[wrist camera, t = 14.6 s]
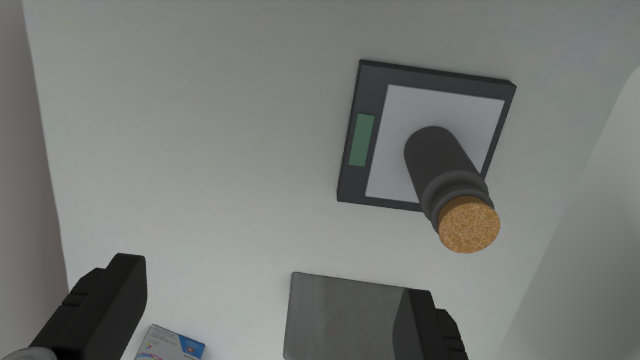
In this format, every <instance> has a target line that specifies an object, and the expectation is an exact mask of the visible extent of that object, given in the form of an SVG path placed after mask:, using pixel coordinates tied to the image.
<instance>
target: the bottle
mask: <svg viewBox="0 0 640 360" xmlns="http://www.w3.org/2000/svg"><path fill="white" fill-rule="evenodd" d="M404 159H405V163H406V166H407V169H408V172H409V175H410V178H411V181H412V183H413V186H414V189H415V192H416V195H417V197H418V200H419V203H420V206H421V208H422V211H423V213H424V214H425V216H426V217H427V218H428V219H429V220H430V221H431V223H432V226H433V228H434V230H435V231H436V232H437V234H439V238H440V240H441V242H442V243H443V244H444V246H446V247H447V248H448V249H450V250H452V251H454V252H458V253H473V252H477V251H479V250H482V249H484V248H485V247H487V246H488V245H490V244H491V243H492V242H493V241H494V240H495V238H496V237H497V235H498V233H499V229H500V220H499V217H498V215H497V213H496V212H495V210H494V205H493V202H492V201H491V199H490V197H489V192H488V188H487V185H486V183H485V181H484V180H483V178H482V177H481V175H480V173H479V172H478V170H477V169H476V167H475V166H474V164H473V163H472V161H471V160H470V158H469V157H468V155H467V154H466V152H465V151H464V149H463V148H462V146H461V145H460V143H459V142H458V140H457V139H456V138H455V136H454V135H453V134H452V133H451V132H450V131H448V130H447V129H445V128H442V127H438V126H429V127H425V128H422V129H420V130H418V131H416V132H415V133H414V134H412V135H411V137H410V138H409V139H408V140H407V142H406V144H405V148H404Z"/></svg>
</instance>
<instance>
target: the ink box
mask: <svg viewBox="0 0 640 360" xmlns="http://www.w3.org/2000/svg"><path fill="white" fill-rule="evenodd" d="M204 346H205V345H203V344H201V343H198V342H196V341H193V340H191V339H188V338H186V337H183V336H181V335H178V334H176V333H173V332H170V331H168V330H165V329H163V328H160V327H158V326H156V325H152V326H151V327H150V329H149V331H148V333H147V335H146V336H145V338H144V340H143V342H142V344H141V346H140V348H139V350H138V352H137V354H136V356H135V358H134V360H200V359H201V356H202V353H203V350H204Z"/></svg>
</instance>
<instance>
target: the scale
mask: <svg viewBox="0 0 640 360" xmlns="http://www.w3.org/2000/svg"><path fill="white" fill-rule="evenodd" d="M516 88H517V86H516V85H514V84H513V83H512V82H510V81H508V80H501V79H494V78H487V77H480V76H473V75H466V74H459V73H452V72H445V71H438V70H431V69H424V68H417V67H410V66H403V65H396V64H389V63H382V62H375V61H368V60H360V63H359V69H358V74H357V80H356V86H355V92H354V97H353V103H352V109H351V114H350V120H349V126H348V131H347V137H346V143H345V148H344V154H343V160H342V165H341V171H340V177H339V182H338V188H337V201H339V202H347V203H355V204H363V205H371V206H378V207H386V208H394V209H402V210H410V211H418V212H423V211H422V208H421V206H420V203H419V200H418V197H417V195H416V192H415V189H414V186H413V183H412V181H411V178H410V175H409V172H408V169H407V166H406V163H405V159H404V148H405V144H406V142H407V140H408V139H409V138H410V137H411V135H412V134H414V133H415V132H416V131H418V130H420V129H422V128H425V127H429V126H438V127H442V128H445V129H447V130H448V131H450V132H451V133H452V134H453V135H454V136H455V138H456V139H457V140H458V142H459V143H460V145H461V146H462V148H463V149H464V151H465V152H466V154H467V155H468V157H469V158H470V160H471V161H472V163H473V164H474V166H475V167H476V169H477V170H478V172H479V173H480V175H481V177H482V178H483V180H485V177H486V174H487V171H488V168H489V165H490V162H491V159H492V157H493V154H494V151H495V148H496V145H497V142H498V139H499V137H500V134H501V131H502V128H503V125H504V122H505V119H506V117H507V114H508V111H509V108H510V105H511V102H512V99H513V96H514V94H515V91H516Z"/></svg>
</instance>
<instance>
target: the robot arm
mask: <svg viewBox="0 0 640 360" xmlns="http://www.w3.org/2000/svg"><path fill="white" fill-rule="evenodd" d="M146 303H147V277H146V261H145V257H144V256H141V255H133V254H124V253H117V254H116V255H115V256H114V257H113V259H112V260H111V262H110V263H109V265H108V266H107V267H106V269H103V268H95V269H93V270H92V271H90V272H89V273H88V274H86V275H85V276H83V277H82V278H80V279H79V281H78V282H77V283H76V285H75V286H74V287H73V289H72V290H71V291H70V294H68V295H67V297H66V298H65V299H64V301H63V302H62V305H60V306H59V307H58V308H57V310H56V311H55V312H54V314H53V315H52V317H51V318H50V319H49V320H48V322H47V323H46V324H45V326H44V327H43V328H42V330H41V331H40V332H39V334H38V335H37V336H36V338H35V339H34V340H33V342H32V343H31V344H30V345H29V347H28V348H24V349H20V350H18V351H15V352H13V353H11V354H9V355H7V356H6V357H4V358H3V359H1V360H120V359H121V357H122V355H123V353H124V351H125V349H126V347H127V345H128V343H129V341H130V339H131V337H132V335H133V333H134V331H135V329H136V327H137V325H138V323H139V321H140V319H141V317H142V315H143V313H144V310H145V307H146ZM392 343H393V350H394V356H395V360H469V359H468V356H467V353H466V352H465V348H464V345H463V342H462V340H461V336H460V333H459V330H458V327H457V324H456V322H455V321H454V320H453V318H452V317H451V316H450V315H449V314H448V312H447V311H446V310H445V309H436V308H435V305H434V302H433V299H432V295H431V293H430V291H428V290H419V289H411V288H405V289H404V291H403V293H402V297H401V300H400V303H399V307H398V310H397V314H396V317H395V321H394V324H393V332H392Z"/></svg>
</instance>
